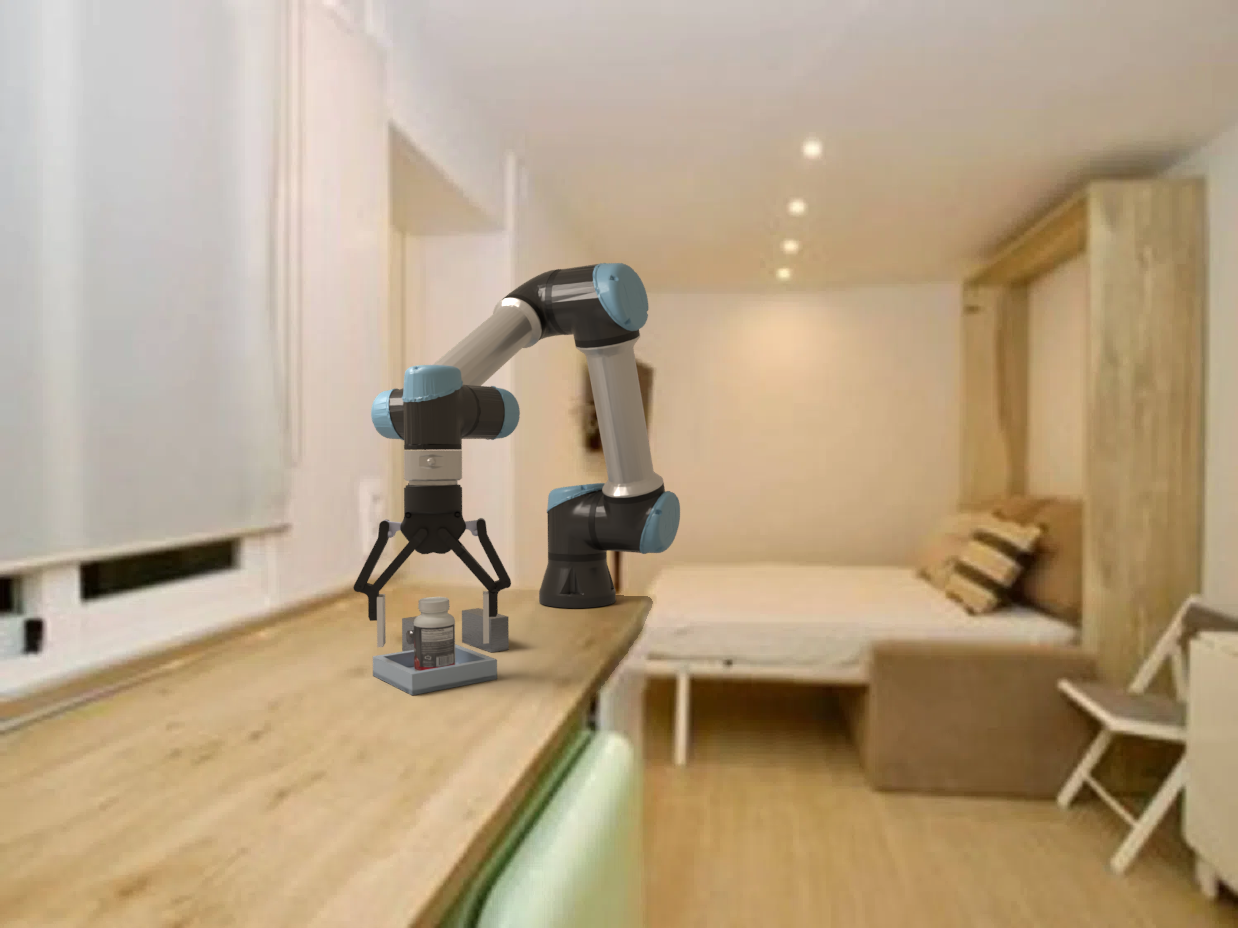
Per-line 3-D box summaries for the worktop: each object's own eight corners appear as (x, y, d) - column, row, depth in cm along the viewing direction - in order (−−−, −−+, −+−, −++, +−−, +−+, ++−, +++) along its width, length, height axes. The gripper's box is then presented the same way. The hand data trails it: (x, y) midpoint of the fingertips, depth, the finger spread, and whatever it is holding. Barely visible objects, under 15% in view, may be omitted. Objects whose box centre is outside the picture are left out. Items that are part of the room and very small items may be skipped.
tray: (453, 661, 124) (453, 643, 124) (497, 678, 114) (496, 659, 114) (372, 675, 116) (372, 656, 116) (412, 695, 107) (412, 674, 107)
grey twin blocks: (484, 638, 139) (484, 607, 139) (514, 648, 132) (514, 615, 132) (395, 652, 129) (395, 618, 129) (423, 664, 122) (422, 628, 122)
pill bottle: (415, 668, 117) (414, 596, 117) (456, 666, 118) (455, 595, 118) (412, 678, 112) (411, 603, 112) (455, 676, 113) (454, 601, 113)
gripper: (330, 485, 109) (331, 653, 110) (529, 483, 113) (530, 645, 113) (340, 482, 117) (341, 640, 117) (526, 481, 120) (527, 633, 121)
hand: (434, 643), depth 115 cm, fingers open, 13 cm apart
